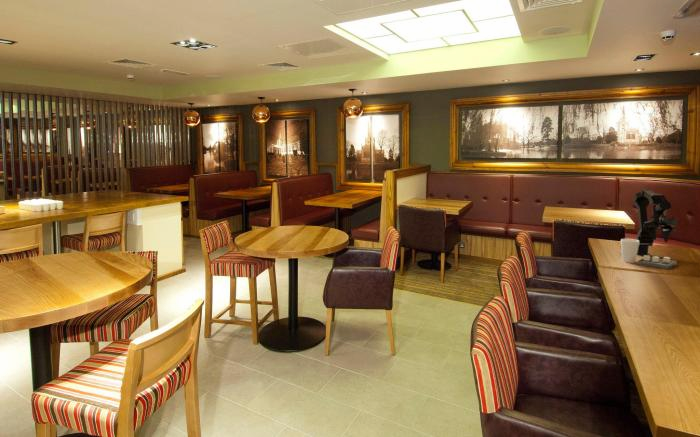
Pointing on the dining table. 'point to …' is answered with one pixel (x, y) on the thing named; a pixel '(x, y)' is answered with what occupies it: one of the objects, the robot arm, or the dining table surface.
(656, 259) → the breaker middle
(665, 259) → the breaker
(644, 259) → the breaker
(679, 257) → the dining table surface
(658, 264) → the breaker panel
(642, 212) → the robot arm
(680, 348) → the dining table surface
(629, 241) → the foam cup
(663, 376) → the dining table surface
